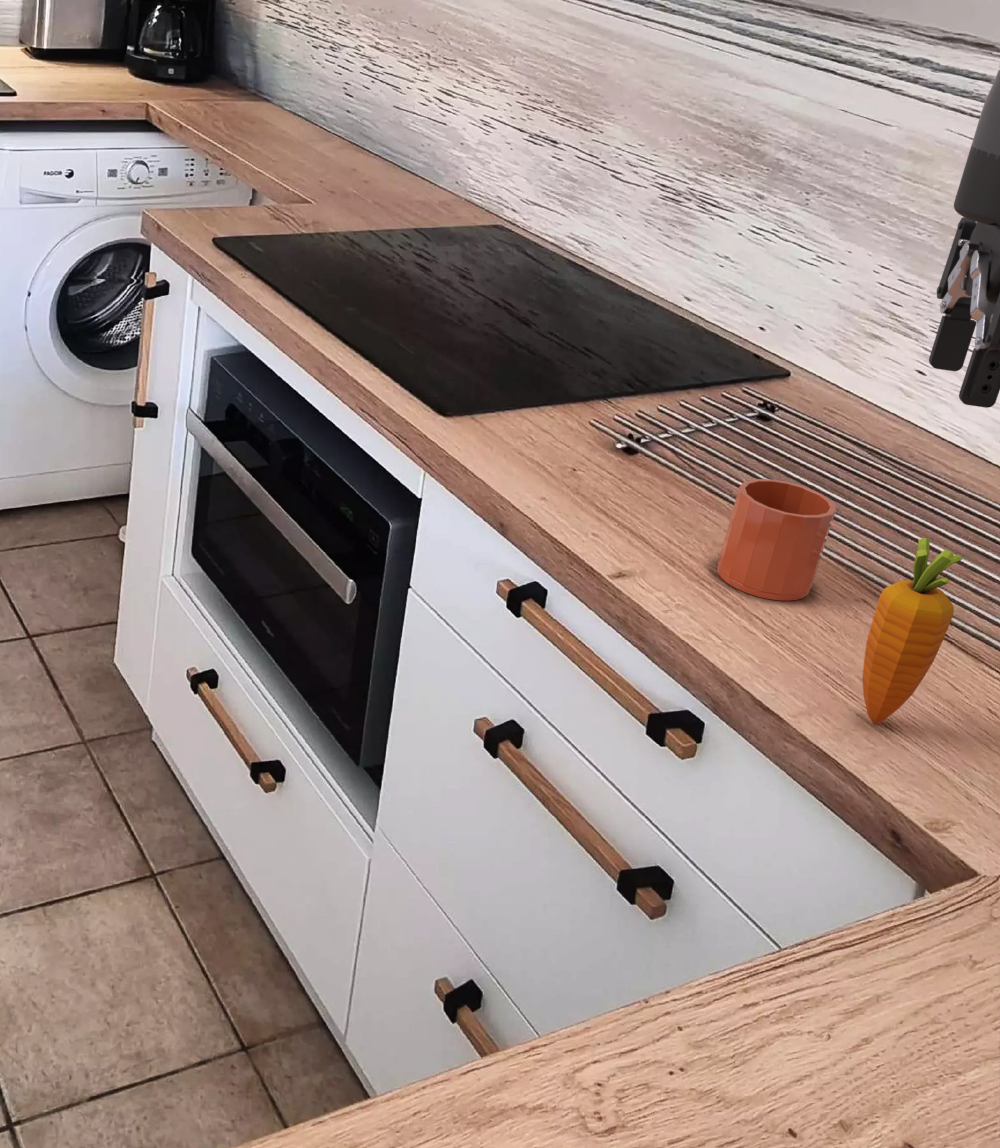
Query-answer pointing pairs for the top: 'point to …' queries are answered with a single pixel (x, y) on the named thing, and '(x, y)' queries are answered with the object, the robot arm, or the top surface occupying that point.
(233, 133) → the top surface
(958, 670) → the top surface
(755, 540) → the pot
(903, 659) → the carrot
